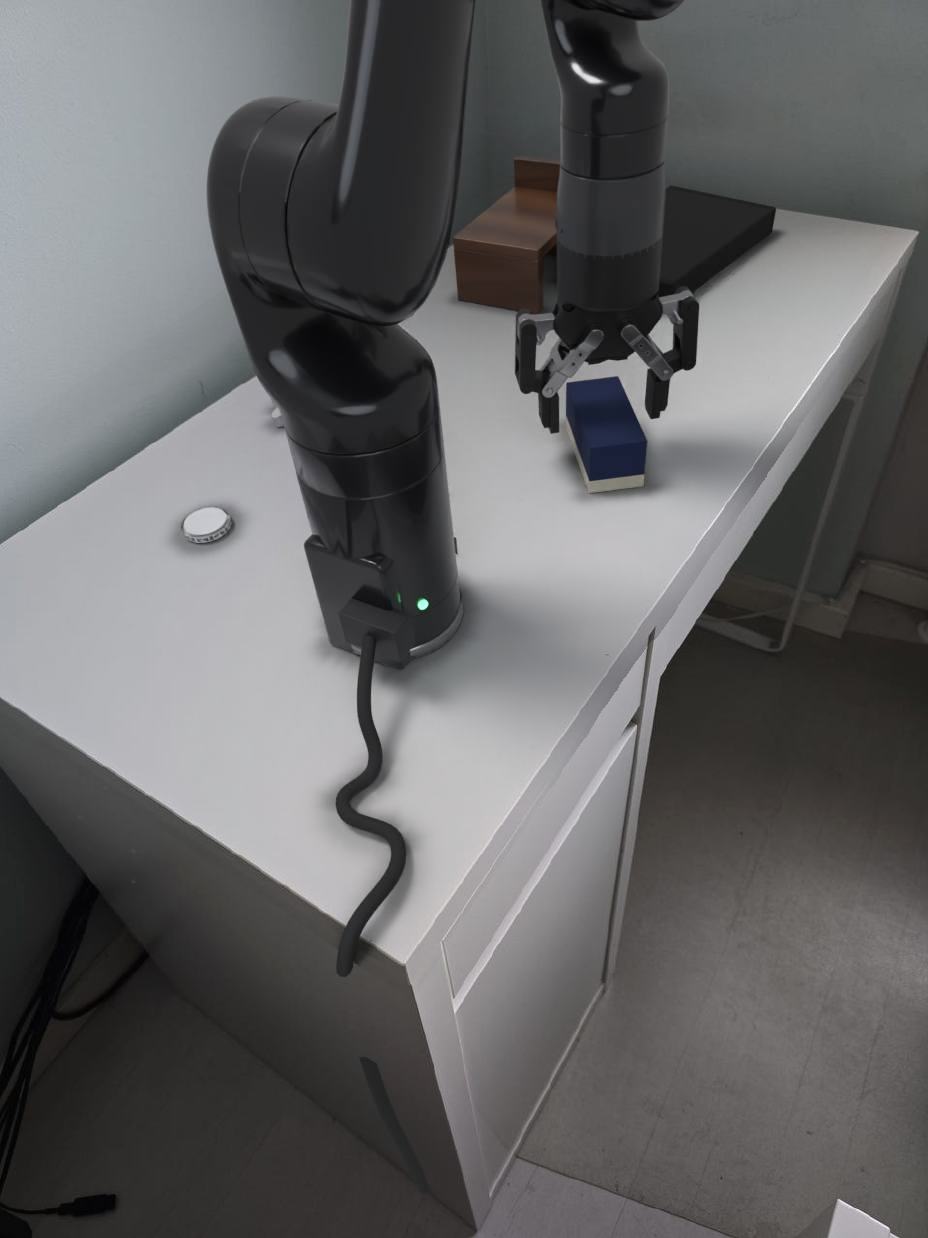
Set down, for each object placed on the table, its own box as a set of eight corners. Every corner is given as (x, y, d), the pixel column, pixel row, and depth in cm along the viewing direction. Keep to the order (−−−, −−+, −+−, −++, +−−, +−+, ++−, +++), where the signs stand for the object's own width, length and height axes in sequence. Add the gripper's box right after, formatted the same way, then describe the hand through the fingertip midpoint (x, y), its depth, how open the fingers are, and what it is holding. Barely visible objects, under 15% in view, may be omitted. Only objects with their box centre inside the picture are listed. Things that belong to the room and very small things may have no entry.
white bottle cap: (235, 510, 74) (233, 504, 73) (226, 541, 71) (223, 535, 70) (189, 512, 74) (186, 506, 73) (177, 543, 71) (175, 537, 71)
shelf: (538, 314, 94) (537, 219, 87) (457, 300, 98) (450, 207, 90) (596, 253, 103) (599, 163, 96) (520, 242, 107) (518, 154, 100)
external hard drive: (558, 280, 99) (558, 254, 97) (667, 209, 110) (669, 184, 108) (668, 312, 92) (670, 284, 90) (772, 233, 103) (776, 207, 101)
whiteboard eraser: (643, 486, 72) (647, 440, 69) (588, 493, 72) (590, 447, 69) (615, 420, 79) (618, 375, 76) (565, 426, 79) (565, 382, 76)
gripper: (519, 264, 59) (527, 459, 71) (725, 235, 60) (699, 433, 71) (502, 220, 64) (512, 408, 76) (691, 193, 65) (672, 385, 76)
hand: (602, 420), depth 74 cm, fingers open, 8 cm apart
